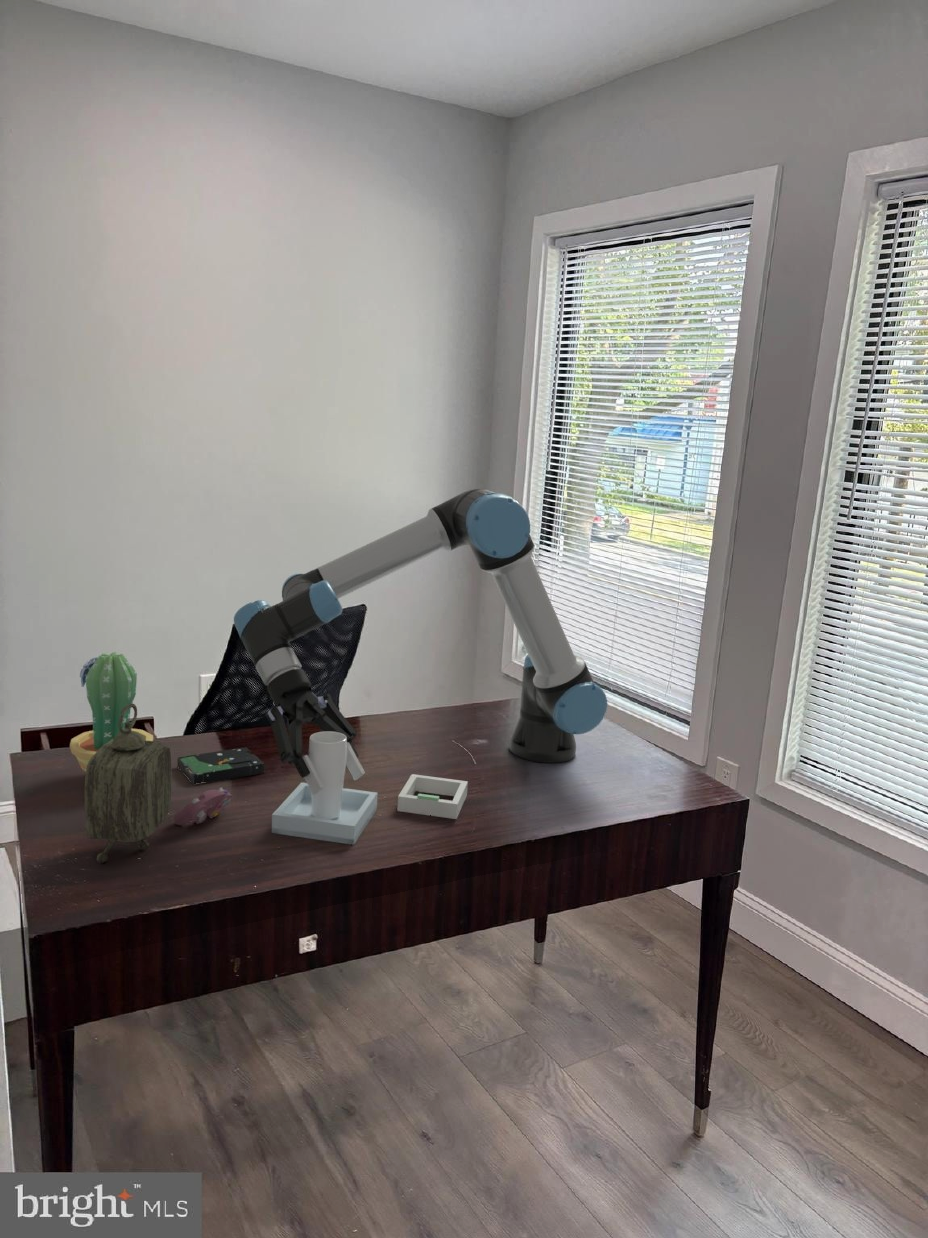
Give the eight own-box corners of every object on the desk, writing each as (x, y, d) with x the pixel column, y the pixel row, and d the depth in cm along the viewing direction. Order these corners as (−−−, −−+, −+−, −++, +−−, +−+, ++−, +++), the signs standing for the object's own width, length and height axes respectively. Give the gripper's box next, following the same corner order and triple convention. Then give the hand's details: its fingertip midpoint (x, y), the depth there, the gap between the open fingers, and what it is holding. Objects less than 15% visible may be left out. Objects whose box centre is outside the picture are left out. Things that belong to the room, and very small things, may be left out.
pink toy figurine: (185, 838, 162) (199, 810, 159) (169, 821, 163) (182, 792, 160) (227, 819, 170) (240, 792, 167) (211, 803, 172) (224, 776, 169)
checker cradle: (466, 795, 184) (468, 778, 183) (456, 819, 173) (457, 801, 172) (411, 788, 186) (412, 771, 185) (397, 811, 175) (398, 793, 174)
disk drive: (245, 759, 197) (176, 769, 188) (245, 746, 196) (176, 756, 188) (265, 776, 188) (193, 787, 180) (265, 763, 188) (193, 774, 179)
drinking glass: (303, 810, 170) (304, 732, 167) (338, 806, 173) (340, 729, 170) (313, 825, 164) (315, 745, 161) (349, 820, 167) (352, 741, 164)
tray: (376, 810, 174) (377, 792, 174) (353, 844, 160) (354, 826, 159) (300, 799, 177) (301, 782, 176) (271, 833, 162) (272, 814, 162)
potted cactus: (143, 759, 191) (141, 642, 185) (164, 787, 178) (163, 662, 173) (62, 771, 182) (59, 649, 177) (79, 801, 170) (75, 670, 164)
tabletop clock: (122, 828, 160) (119, 690, 155) (173, 832, 160) (173, 694, 155) (86, 868, 146) (82, 718, 141) (142, 872, 146) (141, 722, 141)
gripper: (319, 677, 181) (372, 777, 175) (226, 699, 165) (281, 810, 159) (338, 657, 177) (393, 759, 171) (245, 677, 160) (302, 790, 154)
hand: (339, 783), depth 165 cm, fingers open, 9 cm apart
